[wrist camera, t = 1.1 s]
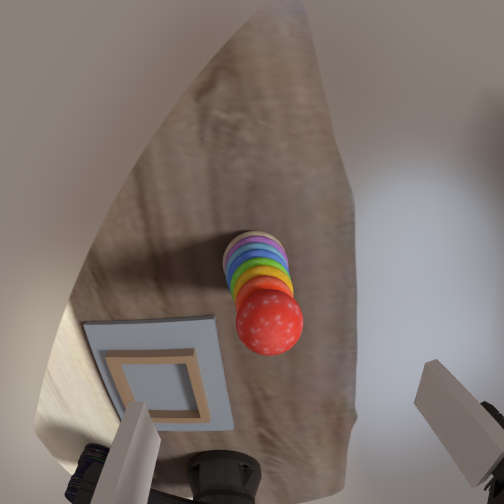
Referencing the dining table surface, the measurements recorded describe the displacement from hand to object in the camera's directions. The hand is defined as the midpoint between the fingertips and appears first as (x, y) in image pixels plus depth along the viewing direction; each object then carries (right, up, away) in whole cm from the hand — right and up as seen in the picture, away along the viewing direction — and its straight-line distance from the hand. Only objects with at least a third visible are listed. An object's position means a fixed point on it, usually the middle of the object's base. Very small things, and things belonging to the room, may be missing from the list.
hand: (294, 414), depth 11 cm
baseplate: (-16, -13, +30) cm, 36 cm away
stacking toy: (-2, +6, +26) cm, 27 cm away
